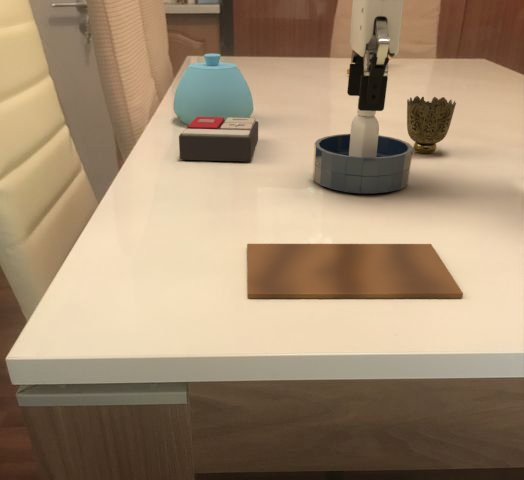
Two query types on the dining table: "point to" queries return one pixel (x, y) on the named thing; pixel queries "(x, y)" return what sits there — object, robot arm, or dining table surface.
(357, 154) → the eye dropper bottle
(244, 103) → the sugar bowl
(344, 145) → the bowl
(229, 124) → the dark flat box
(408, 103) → the cup
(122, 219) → the dining table surface
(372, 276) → the brown wooden board
